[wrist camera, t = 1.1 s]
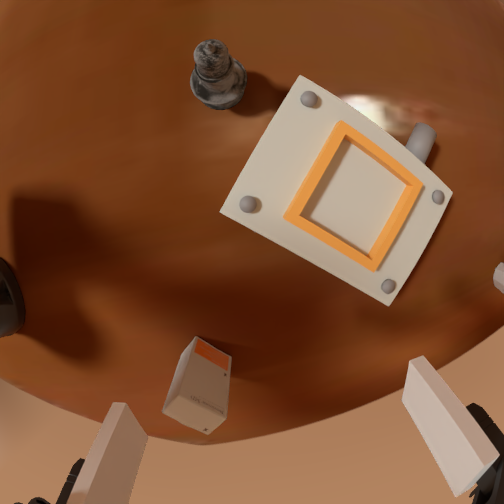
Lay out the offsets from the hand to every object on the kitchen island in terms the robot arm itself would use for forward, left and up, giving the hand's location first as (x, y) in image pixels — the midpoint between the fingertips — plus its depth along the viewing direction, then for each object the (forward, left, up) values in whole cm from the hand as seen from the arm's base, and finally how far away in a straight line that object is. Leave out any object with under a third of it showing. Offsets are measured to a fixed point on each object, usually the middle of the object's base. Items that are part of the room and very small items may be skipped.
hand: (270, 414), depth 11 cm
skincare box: (+1, -15, -23) cm, 28 cm away
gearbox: (+5, +14, -23) cm, 28 cm away
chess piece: (-13, +16, -23) cm, 31 cm away
